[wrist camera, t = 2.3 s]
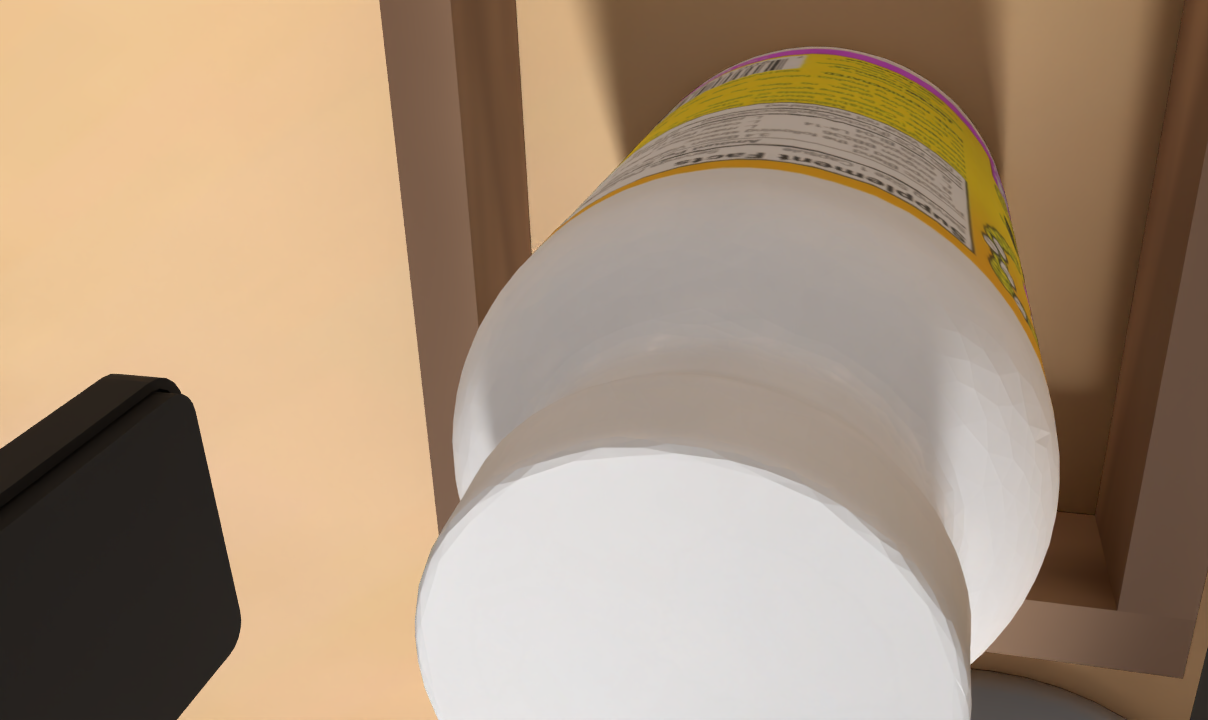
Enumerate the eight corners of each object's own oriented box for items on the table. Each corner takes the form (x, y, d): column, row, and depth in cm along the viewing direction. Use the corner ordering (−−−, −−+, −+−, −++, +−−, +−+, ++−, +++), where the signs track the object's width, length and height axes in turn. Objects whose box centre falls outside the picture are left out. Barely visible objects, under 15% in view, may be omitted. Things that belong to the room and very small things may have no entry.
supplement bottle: (911, 439, 22) (886, 1087, 10) (595, 313, 22) (253, 796, 11) (1080, 115, 19) (1304, 548, 7) (706, -21, 19) (384, 185, 8)
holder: (1303, -159, 16) (1374, -157, 14) (1152, 575, 22) (1183, 678, 19) (442, -131, 20) (365, -126, 17) (495, 499, 25) (444, 578, 22)
